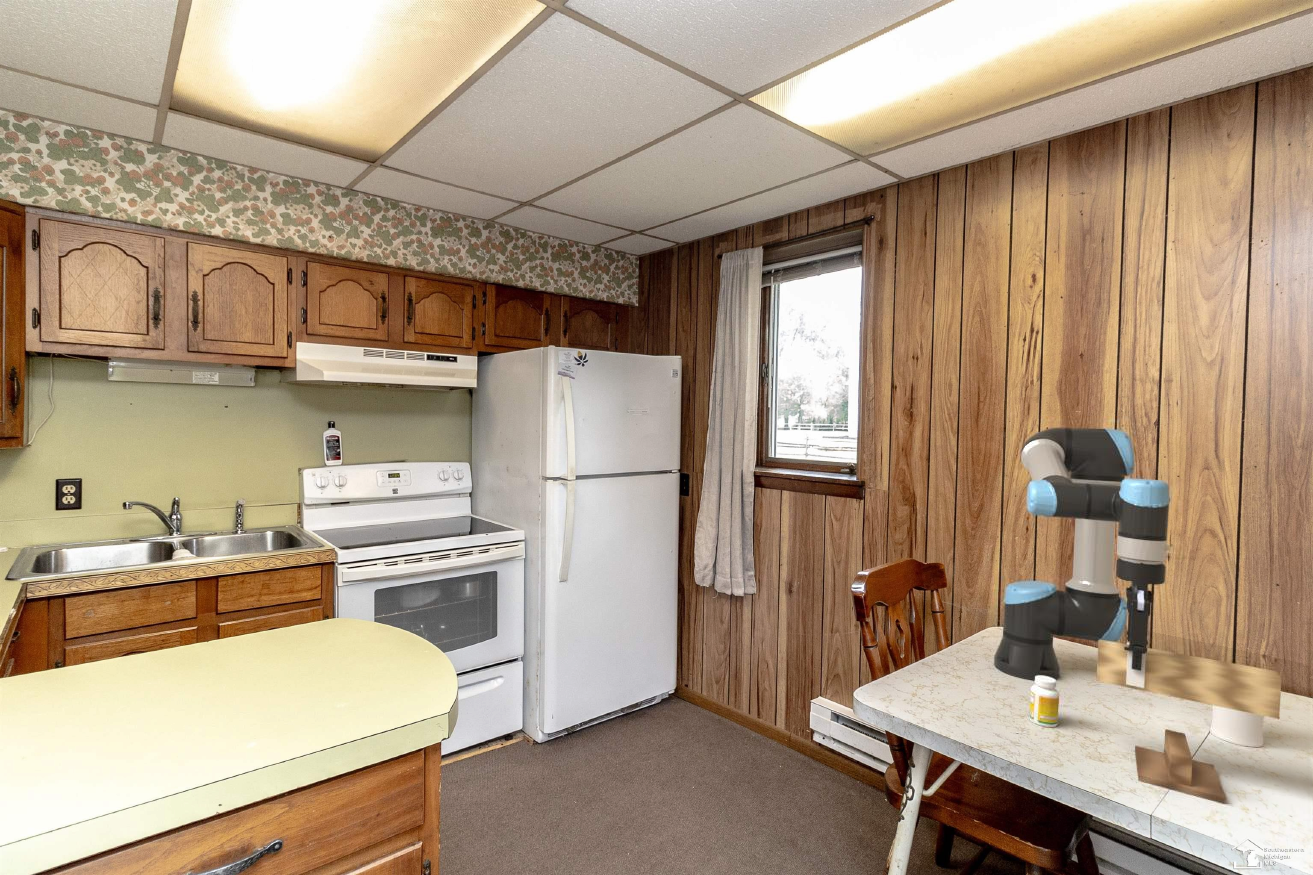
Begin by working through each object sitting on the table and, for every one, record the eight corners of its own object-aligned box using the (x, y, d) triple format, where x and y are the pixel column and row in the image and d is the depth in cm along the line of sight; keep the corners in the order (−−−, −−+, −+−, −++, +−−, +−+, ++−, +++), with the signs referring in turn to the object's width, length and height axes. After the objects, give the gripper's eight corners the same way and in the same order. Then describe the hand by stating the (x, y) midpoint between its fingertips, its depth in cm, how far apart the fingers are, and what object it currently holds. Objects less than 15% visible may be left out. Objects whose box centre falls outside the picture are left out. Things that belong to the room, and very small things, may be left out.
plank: (1096, 680, 127) (1098, 645, 127) (1096, 674, 131) (1098, 639, 131) (1279, 719, 112) (1281, 678, 112) (1273, 710, 116) (1275, 670, 116)
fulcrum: (1138, 780, 119) (1140, 747, 119) (1134, 750, 131) (1136, 720, 131) (1224, 803, 113) (1226, 769, 113) (1212, 770, 124) (1214, 738, 124)
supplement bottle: (1023, 719, 144) (1025, 675, 144) (1039, 715, 146) (1041, 672, 146) (1047, 729, 139) (1049, 684, 139) (1063, 725, 141) (1065, 681, 141)
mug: (1201, 719, 147) (1204, 666, 147) (1251, 729, 143) (1254, 674, 143) (1215, 740, 137) (1218, 683, 137) (1269, 751, 133) (1273, 693, 133)
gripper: (1169, 570, 116) (1162, 701, 116) (1161, 556, 130) (1155, 672, 131) (1118, 564, 120) (1111, 690, 120) (1115, 551, 134) (1109, 663, 135)
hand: (1134, 681), depth 125 cm, fingers closed on plank, 4 cm apart
